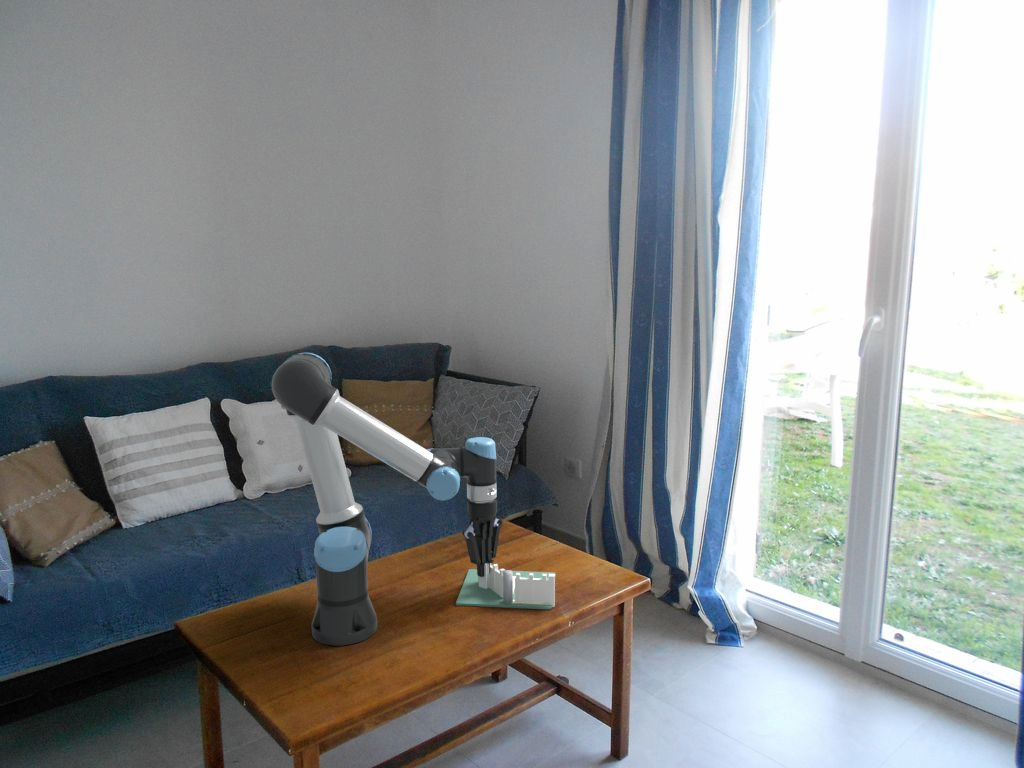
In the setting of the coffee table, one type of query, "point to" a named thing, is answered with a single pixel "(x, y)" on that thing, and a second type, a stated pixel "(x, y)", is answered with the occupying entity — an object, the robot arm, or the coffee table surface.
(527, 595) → the fixed fence
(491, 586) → the white crenellated wall
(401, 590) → the coffee table surface
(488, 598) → the board
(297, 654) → the coffee table surface
